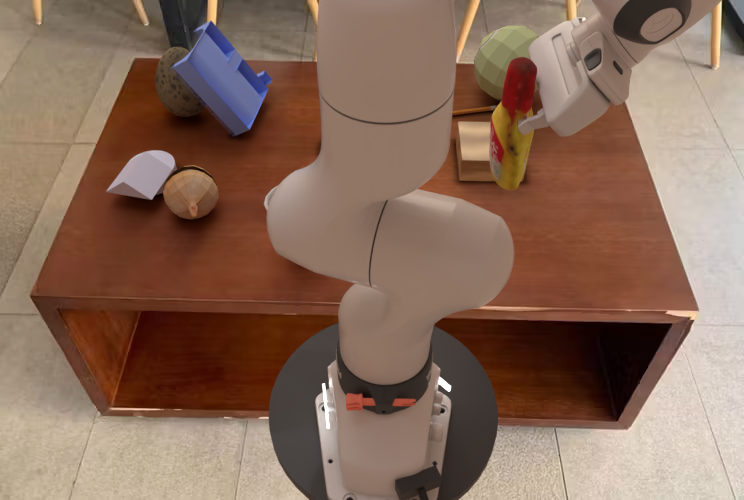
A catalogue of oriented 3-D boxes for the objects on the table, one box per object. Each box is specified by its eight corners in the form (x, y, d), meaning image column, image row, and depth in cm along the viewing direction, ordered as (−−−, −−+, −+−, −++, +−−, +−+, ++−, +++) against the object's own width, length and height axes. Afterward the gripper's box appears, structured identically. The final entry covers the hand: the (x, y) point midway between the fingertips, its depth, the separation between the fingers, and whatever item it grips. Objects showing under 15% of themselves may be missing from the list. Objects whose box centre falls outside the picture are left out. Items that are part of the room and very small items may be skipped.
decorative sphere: (535, 60, 129) (503, 122, 139) (573, 45, 138) (541, 104, 148) (477, 19, 134) (450, 82, 144) (518, 7, 143) (490, 67, 154)
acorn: (197, 146, 122) (191, 171, 108) (230, 185, 126) (227, 214, 112) (157, 175, 123) (145, 203, 109) (190, 213, 127) (182, 245, 113)
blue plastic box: (249, 129, 134) (224, 140, 138) (273, 79, 144) (248, 90, 148) (186, 60, 124) (161, 73, 128) (217, 10, 134) (192, 24, 138)
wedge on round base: (156, 213, 121) (186, 167, 130) (146, 185, 116) (178, 139, 125) (111, 205, 123) (143, 160, 131) (99, 177, 118) (134, 133, 127)
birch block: (523, 181, 127) (527, 161, 124) (459, 180, 128) (462, 160, 124) (515, 142, 136) (519, 122, 132) (455, 141, 136) (457, 121, 132)
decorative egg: (217, 124, 140) (204, 59, 129) (163, 131, 138) (146, 66, 127) (213, 95, 147) (200, 31, 136) (162, 101, 145) (146, 37, 134)
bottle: (527, 199, 101) (546, 83, 87) (484, 197, 102) (496, 81, 88) (526, 151, 110) (543, 37, 96) (487, 149, 111) (498, 36, 96)
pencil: (498, 105, 144) (411, 116, 141) (499, 104, 143) (412, 115, 140) (498, 109, 144) (412, 120, 141) (500, 109, 143) (413, 120, 140)
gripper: (573, -4, 96) (495, 57, 103) (603, 76, 82) (511, 140, 89) (597, 26, 99) (519, 83, 106) (630, 107, 85) (539, 166, 92)
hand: (515, 109), depth 97 cm, fingers closed on bottle, 8 cm apart
